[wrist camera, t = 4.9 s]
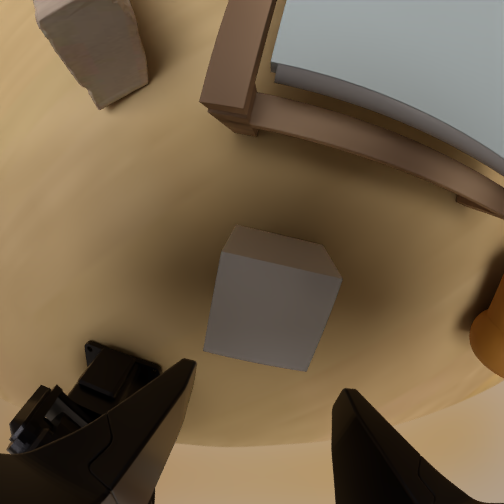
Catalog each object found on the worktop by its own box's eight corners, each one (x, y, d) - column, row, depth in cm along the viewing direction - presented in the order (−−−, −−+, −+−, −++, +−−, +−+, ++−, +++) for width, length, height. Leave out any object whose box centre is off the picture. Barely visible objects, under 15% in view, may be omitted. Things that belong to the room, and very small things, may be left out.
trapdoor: (528, -4, 4) (537, -8, 3) (534, 200, 8) (548, 205, 7) (321, -111, 4) (323, -122, 3) (267, 85, 8) (267, 75, 7)
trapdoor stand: (485, 31, 10) (552, 3, 3) (468, 207, 15) (556, 241, 7) (285, -52, 10) (289, -131, 3) (234, 132, 15) (198, 105, 7)
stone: (298, 319, 18) (306, 371, 13) (219, 302, 18) (203, 350, 13) (322, 244, 16) (342, 279, 11) (235, 224, 16) (221, 251, 11)
